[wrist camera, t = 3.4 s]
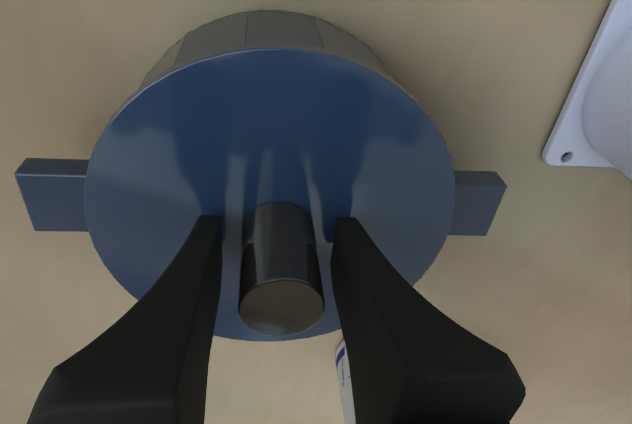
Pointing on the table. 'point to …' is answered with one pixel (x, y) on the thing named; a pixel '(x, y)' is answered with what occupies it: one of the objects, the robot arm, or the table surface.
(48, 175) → the pot
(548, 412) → the table surface
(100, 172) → the pot lid
